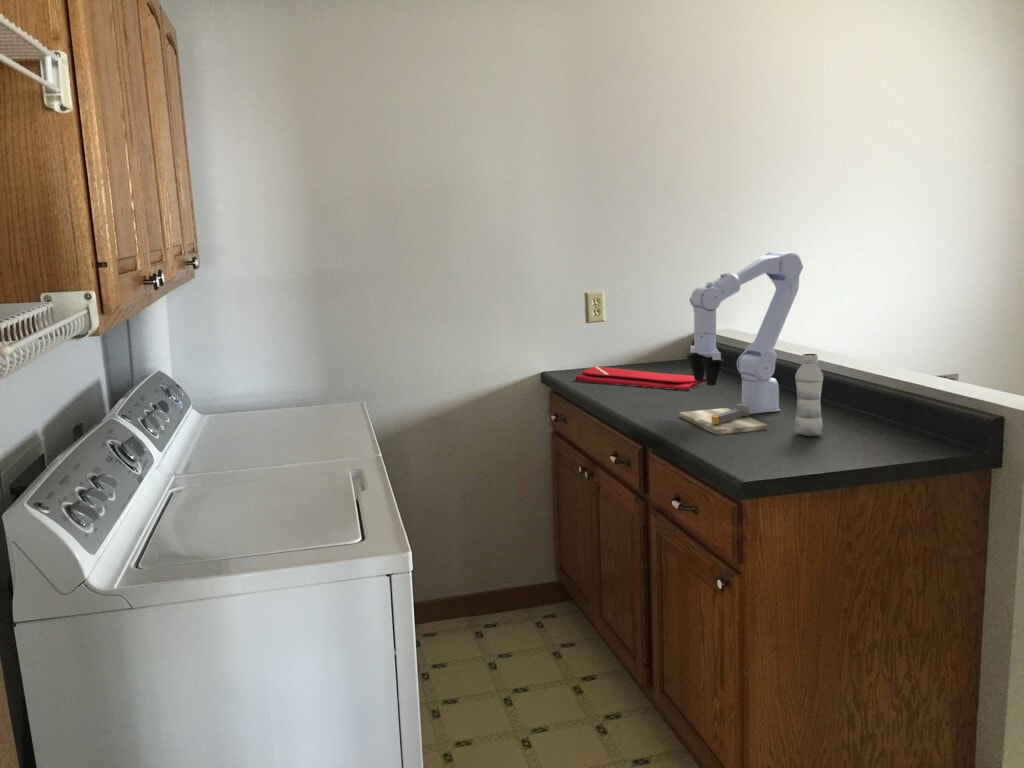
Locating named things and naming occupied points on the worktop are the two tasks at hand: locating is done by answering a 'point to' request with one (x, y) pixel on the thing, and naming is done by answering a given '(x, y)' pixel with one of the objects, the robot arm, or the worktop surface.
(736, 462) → the worktop surface
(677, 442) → the worktop surface
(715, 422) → the grey bar
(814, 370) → the plastic bottle
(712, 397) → the worktop surface
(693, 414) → the light wood flat board
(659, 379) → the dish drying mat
